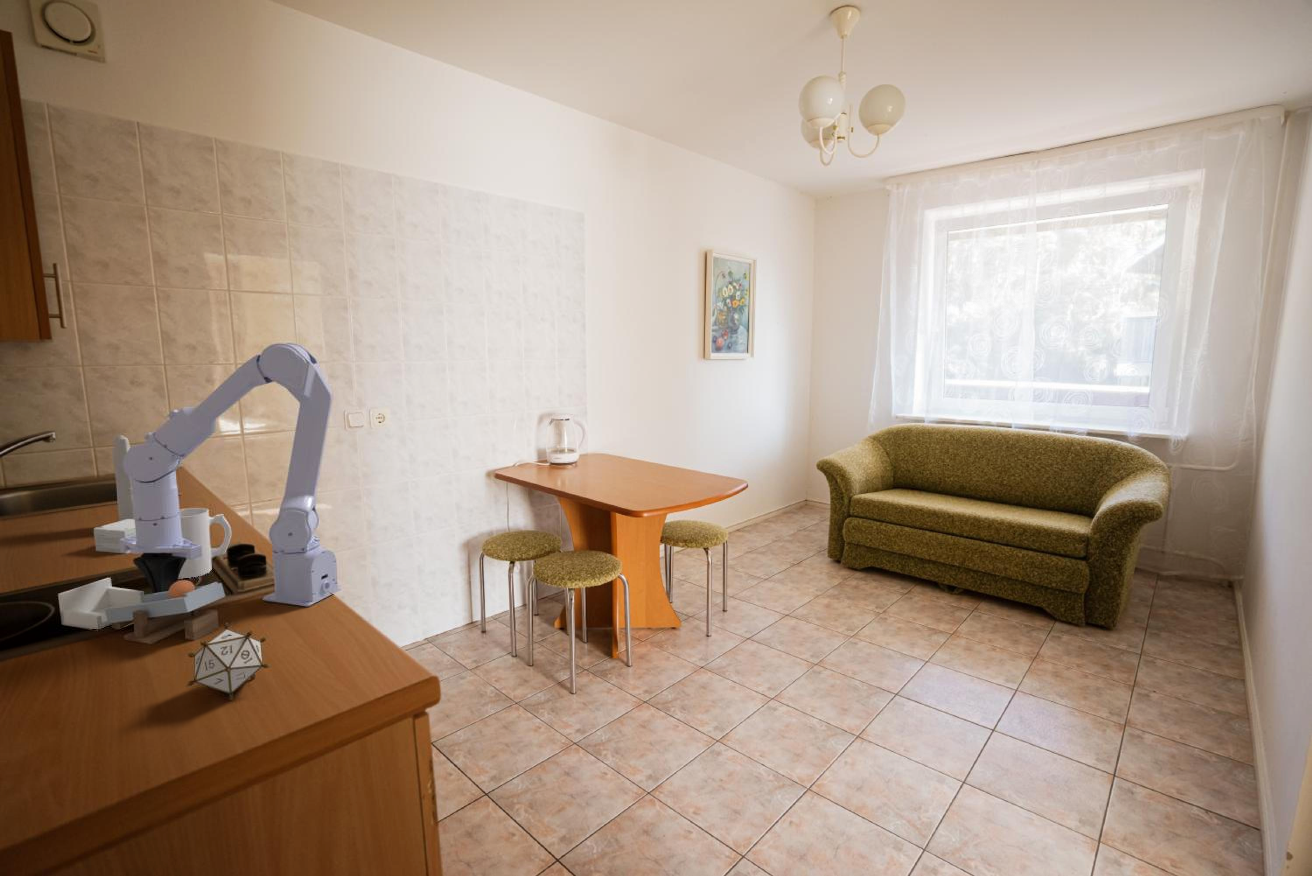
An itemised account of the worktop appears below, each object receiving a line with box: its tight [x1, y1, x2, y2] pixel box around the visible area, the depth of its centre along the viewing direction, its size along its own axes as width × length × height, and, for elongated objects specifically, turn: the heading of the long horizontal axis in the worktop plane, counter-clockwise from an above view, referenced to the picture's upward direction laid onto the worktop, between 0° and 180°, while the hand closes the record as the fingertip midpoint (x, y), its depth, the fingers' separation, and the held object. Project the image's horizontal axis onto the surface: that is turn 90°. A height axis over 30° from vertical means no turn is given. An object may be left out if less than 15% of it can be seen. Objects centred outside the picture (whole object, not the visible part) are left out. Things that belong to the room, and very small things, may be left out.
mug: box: [178, 507, 232, 580], centre depth 116 cm, size 10×7×12 cm, turn 128°
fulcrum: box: [111, 607, 220, 645], centre depth 94 cm, size 15×9×4 cm, turn 77°
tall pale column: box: [112, 434, 134, 522], centre depth 141 cm, size 11×4×22 cm, turn 53°
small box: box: [93, 519, 136, 555], centre depth 130 cm, size 8×8×5 cm
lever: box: [105, 581, 226, 623], centre depth 95 cm, size 16×10×3 cm, turn 77°
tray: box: [57, 577, 145, 630], centre depth 97 cm, size 7×7×5 cm
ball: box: [168, 579, 196, 599], centre depth 92 cm, size 3×3×3 cm
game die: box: [186, 622, 270, 702], centre depth 78 cm, size 9×8×10 cm
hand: (165, 595), depth 100 cm, fingers closed
